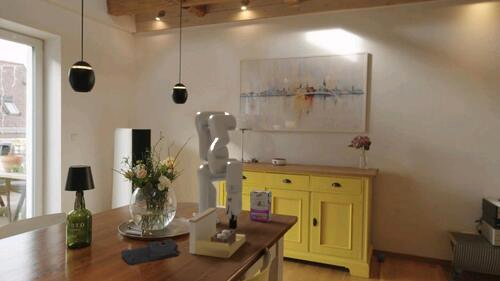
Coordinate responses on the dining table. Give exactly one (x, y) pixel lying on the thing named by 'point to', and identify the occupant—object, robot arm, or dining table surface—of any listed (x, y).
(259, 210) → the candy bar box
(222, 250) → the counter shelf
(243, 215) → the dining table surface
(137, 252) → the dark slate chunk
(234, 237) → the caddy
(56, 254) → the dining table surface
